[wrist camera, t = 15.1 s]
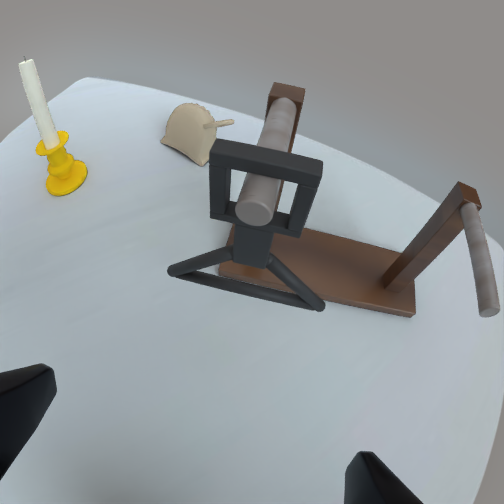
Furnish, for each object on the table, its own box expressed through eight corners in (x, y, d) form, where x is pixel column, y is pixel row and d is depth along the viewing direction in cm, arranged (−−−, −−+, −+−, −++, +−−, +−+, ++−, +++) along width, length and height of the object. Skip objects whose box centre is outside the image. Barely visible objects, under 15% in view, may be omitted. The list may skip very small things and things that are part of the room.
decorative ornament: (185, 126, 35) (183, 89, 30) (236, 155, 32) (240, 115, 28) (159, 142, 33) (154, 103, 28) (210, 174, 30) (210, 132, 26)
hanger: (166, 277, 18) (128, 140, 9) (170, 266, 18) (138, 126, 10) (322, 315, 17) (406, 200, 9) (324, 303, 18) (403, 184, 9)
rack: (408, 373, 21) (556, 292, 8) (200, 333, 22) (175, 185, 9) (407, 261, 27) (498, 145, 14) (236, 218, 28) (252, 58, 15)
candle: (62, 161, 30) (26, 47, 17) (95, 165, 30) (62, 39, 17) (39, 193, 27) (-13, 75, 14) (72, 199, 27) (21, 67, 14)
